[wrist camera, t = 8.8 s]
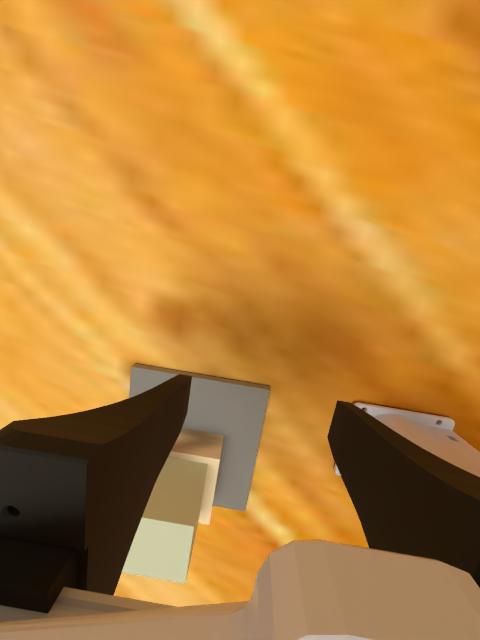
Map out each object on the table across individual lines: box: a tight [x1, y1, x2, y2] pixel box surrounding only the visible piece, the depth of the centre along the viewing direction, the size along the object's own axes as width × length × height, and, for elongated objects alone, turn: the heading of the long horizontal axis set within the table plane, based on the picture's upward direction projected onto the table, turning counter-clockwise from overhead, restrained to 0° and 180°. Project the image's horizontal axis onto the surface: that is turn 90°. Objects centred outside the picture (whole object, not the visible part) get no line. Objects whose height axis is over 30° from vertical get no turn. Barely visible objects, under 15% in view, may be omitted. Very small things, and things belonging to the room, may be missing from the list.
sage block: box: [122, 457, 208, 584], centre depth 18 cm, size 5×5×5 cm
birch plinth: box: [168, 428, 224, 524], centre depth 22 cm, size 7×7×3 cm
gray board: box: [129, 363, 270, 511], centre depth 23 cm, size 13×14×1 cm
